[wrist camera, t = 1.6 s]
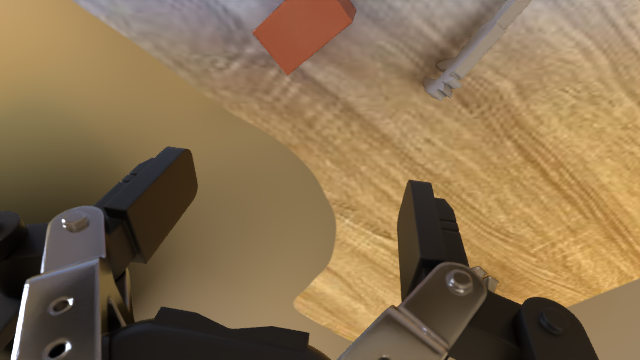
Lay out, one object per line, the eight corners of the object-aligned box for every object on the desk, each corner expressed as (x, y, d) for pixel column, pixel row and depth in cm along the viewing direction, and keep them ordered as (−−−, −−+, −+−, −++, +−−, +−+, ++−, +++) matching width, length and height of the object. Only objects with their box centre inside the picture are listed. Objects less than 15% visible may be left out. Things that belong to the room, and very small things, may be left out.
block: (270, 20, 32) (251, 32, 27) (326, -35, 28) (316, -31, 24) (299, 58, 33) (287, 75, 29) (356, 10, 30) (352, 21, 25)
